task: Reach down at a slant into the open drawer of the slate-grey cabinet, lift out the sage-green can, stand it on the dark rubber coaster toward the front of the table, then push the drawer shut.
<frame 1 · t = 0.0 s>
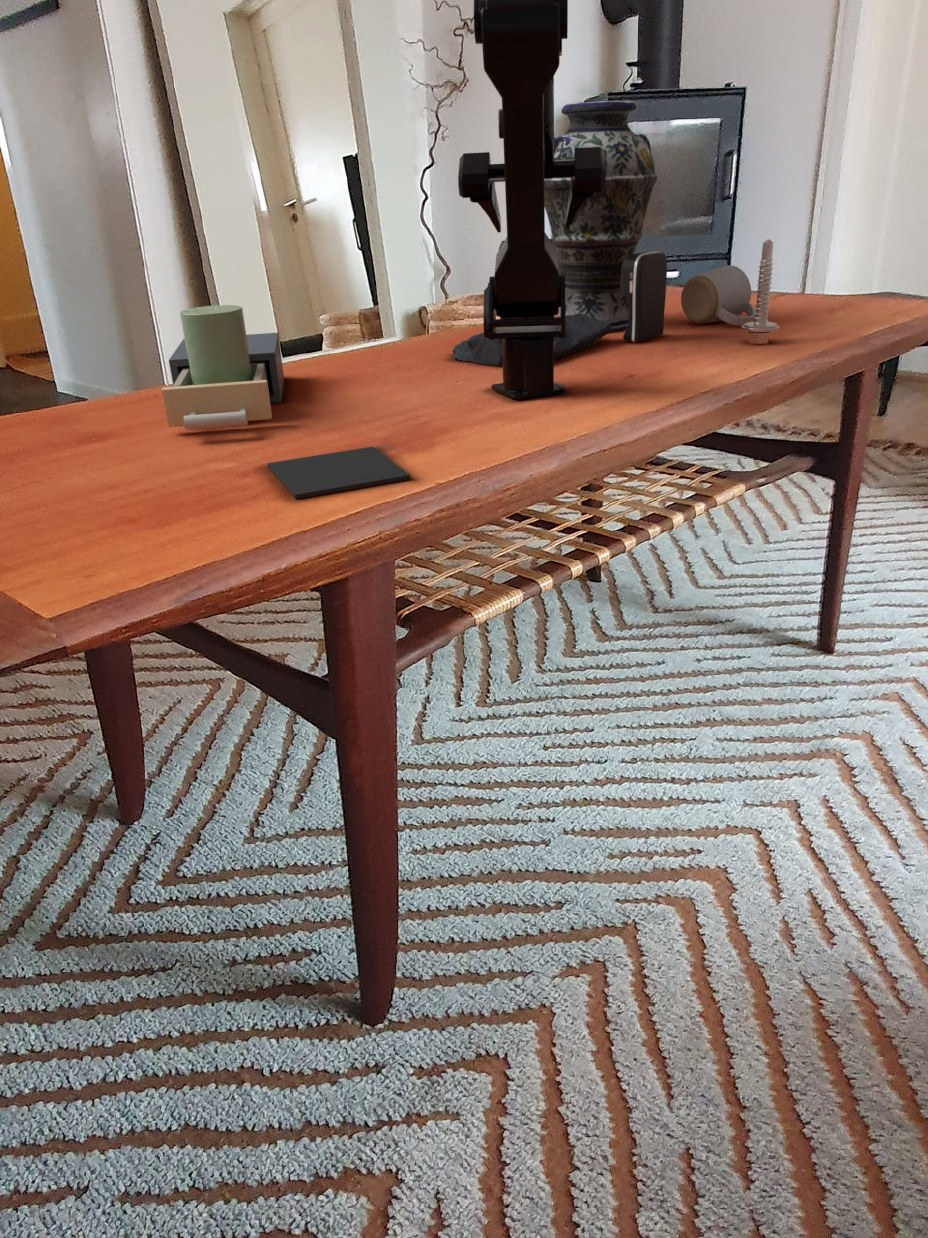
hand: (533, 228, 127), 15 cm above the table, tool tilted 35°, fingers open, 9 cm apart
drawer: (220, 395, 99), point 3 cm above the table, slide at 10.0 cm, touching can
cabinet: (234, 393, 112), on the table
screw: (758, 343, 126), on the table
vase: (592, 327, 143), on the table
dark slate chunk: (536, 352, 128), on the table
battery charger: (640, 340, 132), on the table
coaster: (336, 473, 82), on the table
ceramic mug: (720, 323, 141), on the table
can: (224, 394, 102), point 2 cm above the table, touching drawer
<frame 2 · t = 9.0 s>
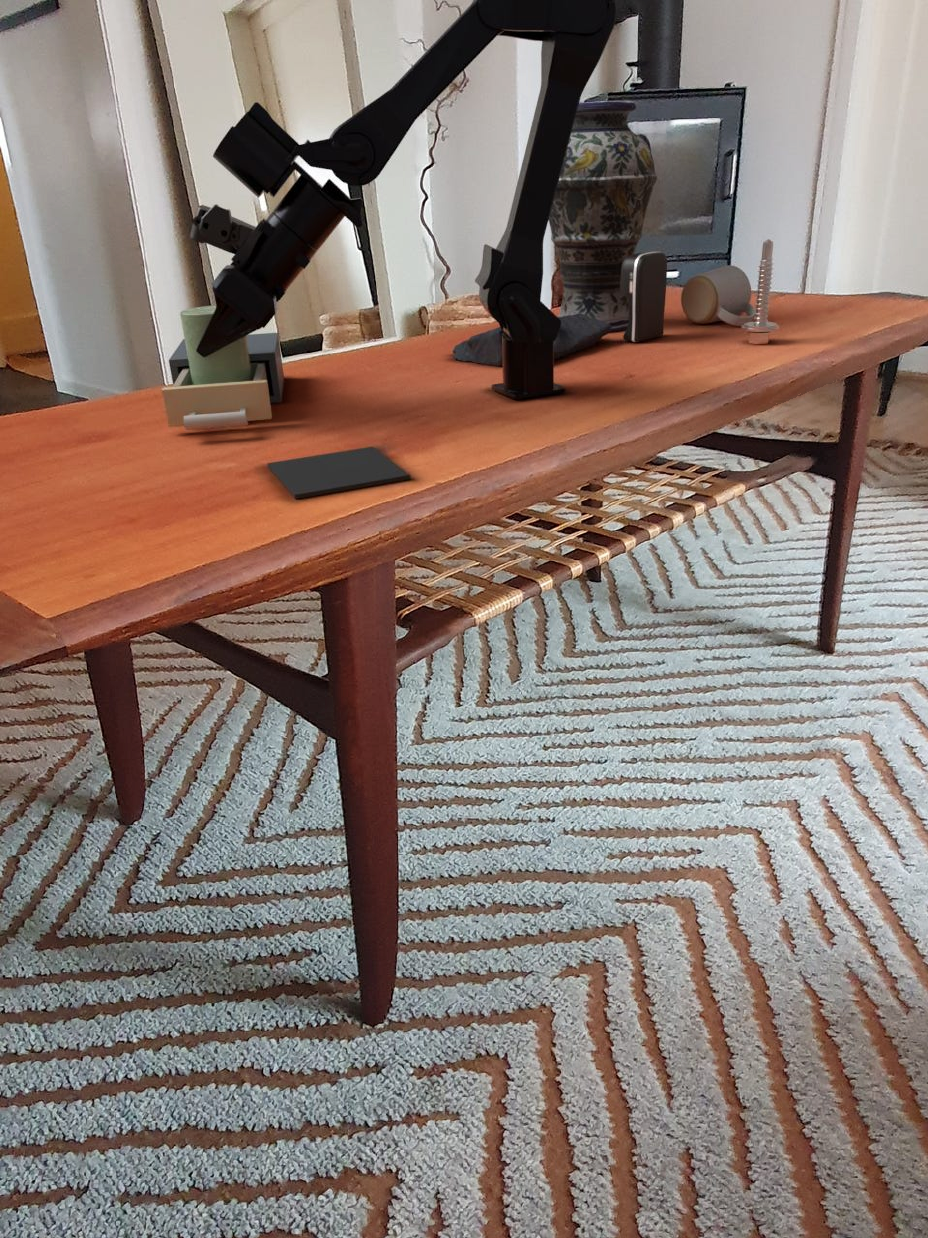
hand: (204, 348, 100), 7 cm above the table, tool tilted 45°, fingers closed on can, 6 cm apart
can: (224, 395, 102), point 2 cm above the table, touching drawer, gripper
everything else where it was.
when the fingers open (5 cm above the table, at t = 18.6 s): can stays where it is, resting on coaster.
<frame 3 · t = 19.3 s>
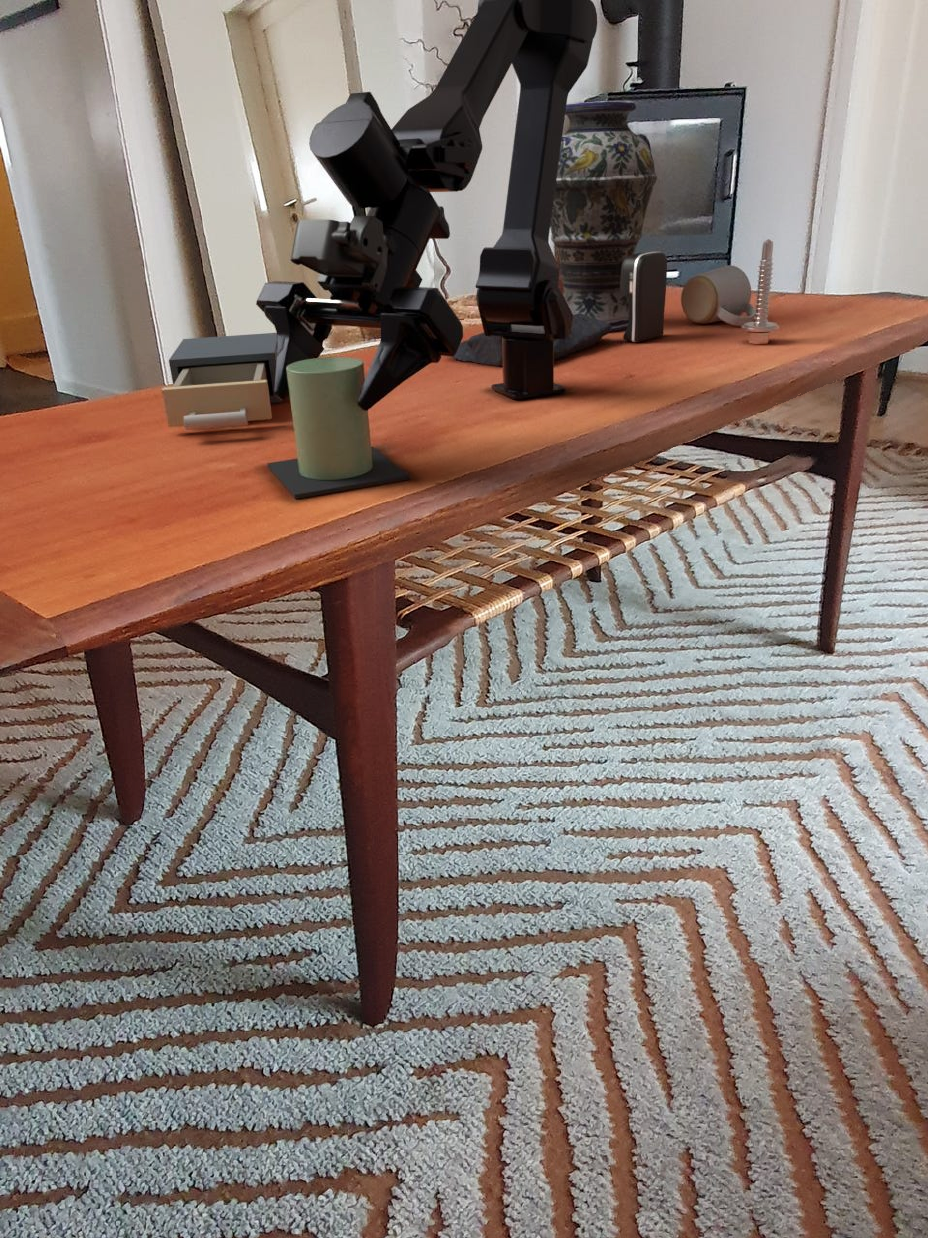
hand: (318, 402, 78), 7 cm above the table, tool tilted 45°, fingers open, 9 cm apart
drawer: (220, 395, 99), point 3 cm above the table, slide at 10.0 cm
can: (336, 468, 82), resting on coaster
everything else where it was.
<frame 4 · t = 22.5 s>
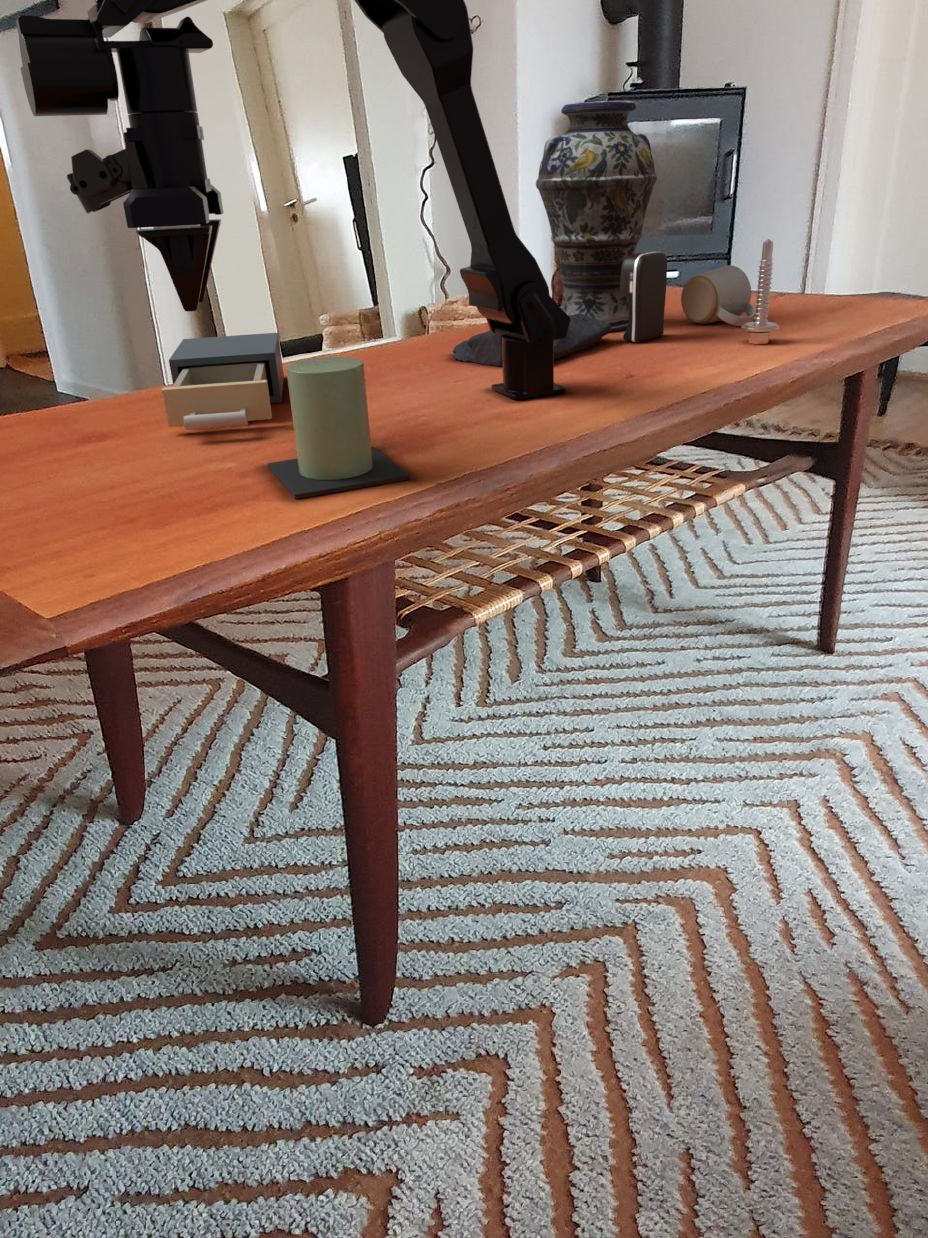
hand: (194, 306, 86), 13 cm above the table, tool pointing down, fingers open, 6 cm apart
nothing on the table moved.
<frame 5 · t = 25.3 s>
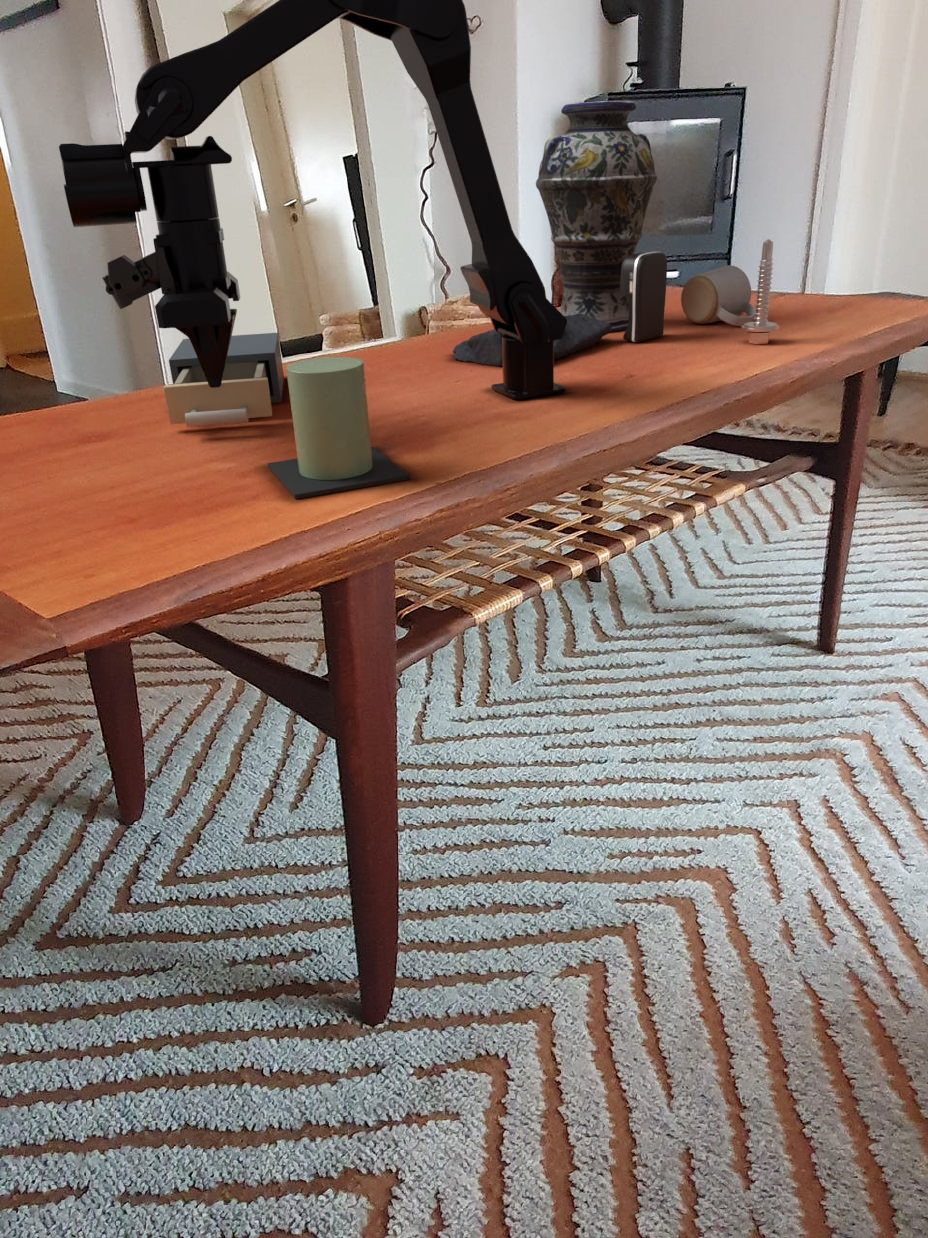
hand: (215, 386, 95), 4 cm above the table, tool pointing down, fingers closed
drawer: (221, 392, 100), point 3 cm above the table, slide at 8.8 cm, touching gripper
everything else where it was.
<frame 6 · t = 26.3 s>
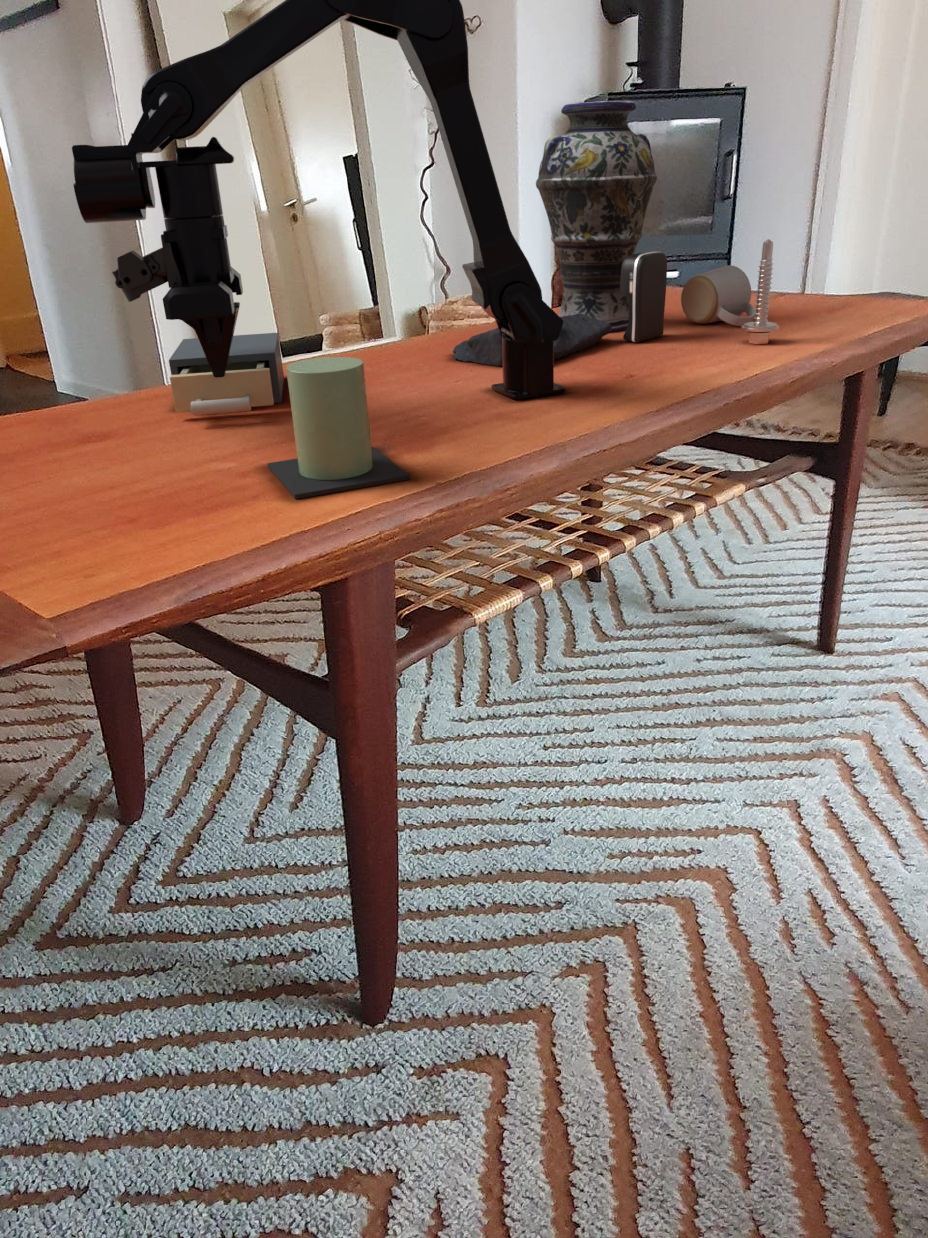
hand: (219, 376, 99), 4 cm above the table, tool pointing down, fingers closed
drawer: (225, 382, 104), point 3 cm above the table, slide at 3.9 cm, touching gripper
everything else where it was.
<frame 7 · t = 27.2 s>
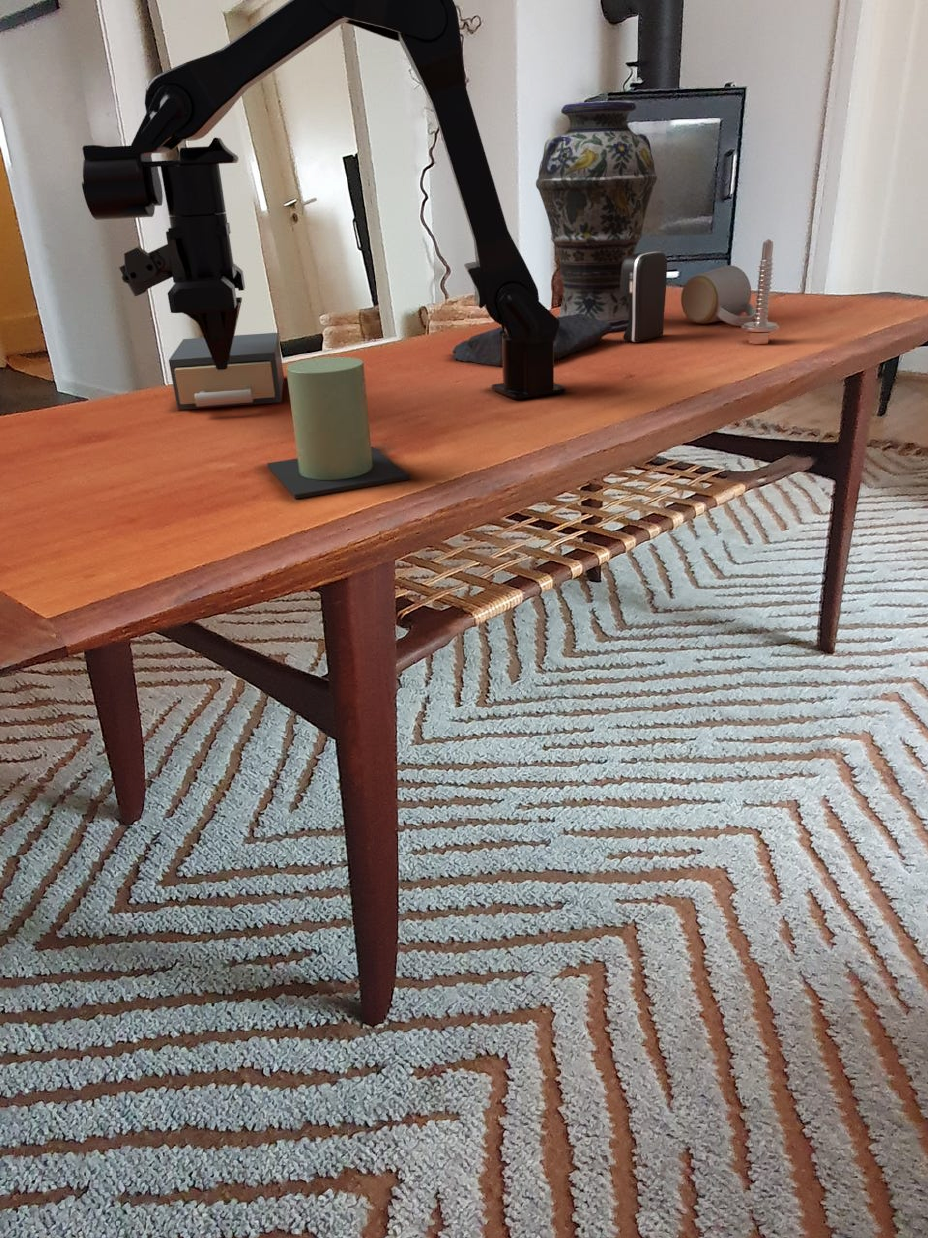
hand: (222, 369, 103), 4 cm above the table, tool pointing down, fingers closed
drawer: (228, 375, 108), point 3 cm above the table, slide at 0.0 cm, touching cabinet, gripper
everything else where it was.
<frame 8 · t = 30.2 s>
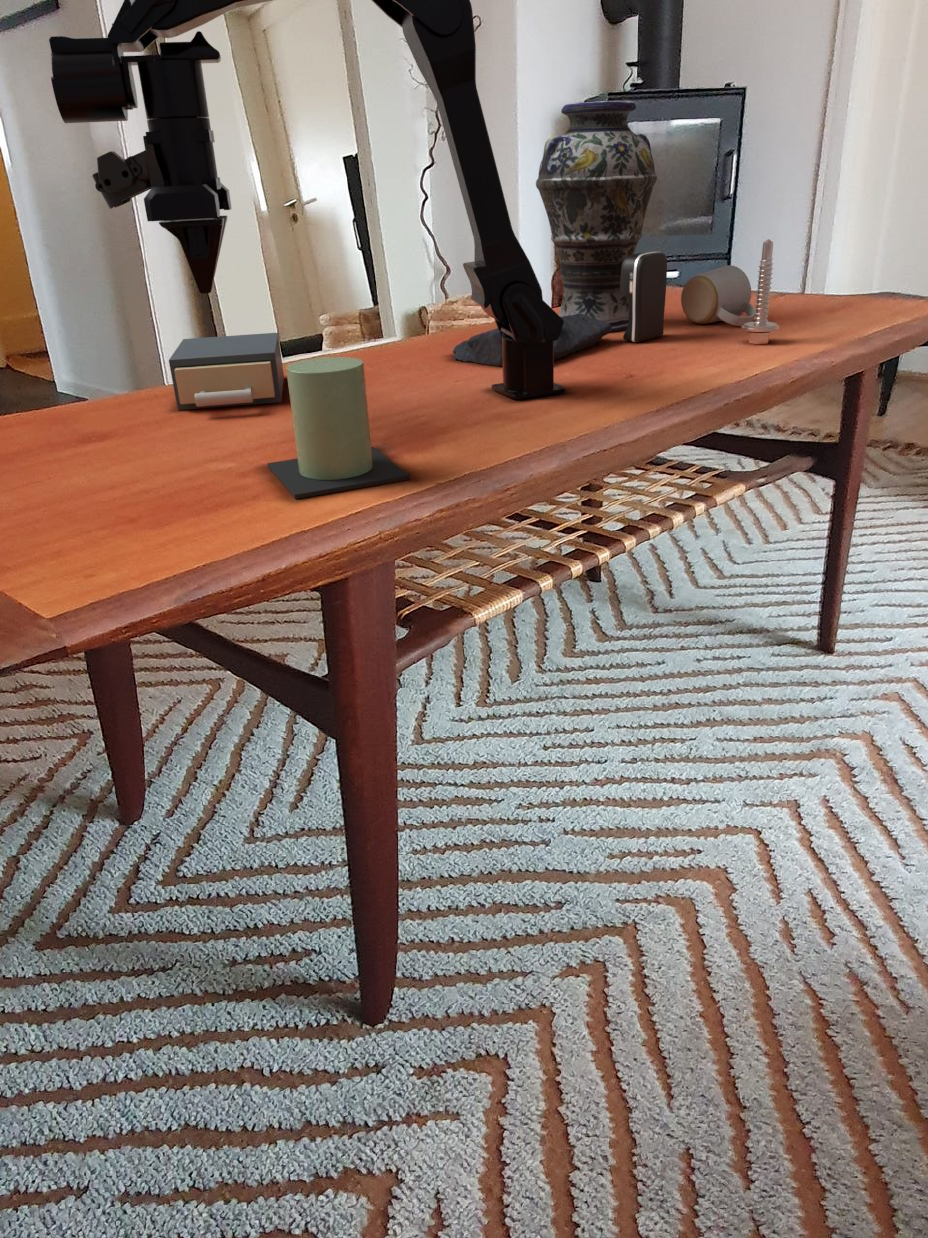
hand: (205, 292, 95), 13 cm above the table, tool pointing down, fingers closed
drawer: (228, 375, 108), point 3 cm above the table, slide at 0.0 cm, touching cabinet
everything else where it was.
at the end: can inside the target area on the coaster (0.0 cm from its centre), point 0.4 cm above the coaster's base; can tilted 0°; drawer slide at 0.0 cm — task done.
